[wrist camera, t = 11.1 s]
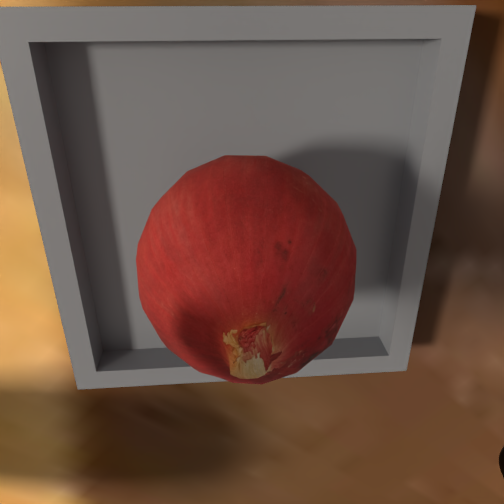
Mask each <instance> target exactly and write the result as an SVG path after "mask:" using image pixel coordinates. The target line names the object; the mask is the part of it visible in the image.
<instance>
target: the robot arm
mask: <svg viewBox="0 0 504 504" xmlns="http://www.w3.org/2000/svg"><path fill="white" fill-rule="evenodd" d="M499 466H500V469H501V472H502V475H503V477H504V447H503V448H502V450H501V452H500V455H499Z"/></svg>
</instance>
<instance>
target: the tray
mask: <svg viewBox="0 0 504 504" xmlns="http://www.w3.org/2000/svg"><path fill="white" fill-rule="evenodd" d="M475 10H476V5H434V6H128V7H0V61H1V65H2V69H3V74H4V78H5V82H6V86H7V91H8V95H9V99H10V103H11V108H12V112H13V116H14V120H15V125H16V129H17V133H18V137H19V142H20V146H21V150H22V154H23V159H24V163H25V167H26V172H27V176H28V180H29V184H30V189H31V193H32V197H33V201H34V206H35V210H36V214H37V218H38V223H39V227H40V231H41V235H42V240H43V244H44V248H45V252H46V257H47V261H48V265H49V269H50V274H51V278H52V282H53V287H54V291H55V295H56V299H57V304H58V308H59V312H60V316H61V321H62V325H63V329H64V333H65V338H66V342H67V346H68V350H69V355H70V359H71V363H72V367H73V372H74V376H75V380H76V385H77V389H96V388H113V387H130V386H148V385H165V384H183V383H200V382H218V381H227V380H224V379H221V378H218V377H215V376H211V375H208V374H204V373H201V372H199V371H197V370H195V369H194V368H192V367H191V366H190V365H189V364H187V363H186V362H185V361H183V360H182V359H181V358H179V357H178V356H177V355H176V354H174V353H173V352H172V351H170V350H169V349H168V348H167V347H166V346H165V344H164V343H163V342H162V341H161V339H160V337H159V336H158V334H157V332H156V331H155V329H154V327H153V325H152V324H151V322H150V320H149V319H148V317H147V315H146V314H145V312H144V310H143V308H142V305H141V301H140V298H139V290H138V278H137V266H136V255H137V246H138V242H139V240H140V237H141V235H142V232H143V230H144V227H145V225H146V222H147V220H148V217H149V215H150V212H151V210H152V208H153V207H154V206H155V204H156V203H157V202H158V201H159V199H160V198H161V197H162V196H163V195H164V194H165V193H166V192H167V191H168V190H169V189H170V188H171V187H172V186H173V185H174V184H175V183H176V182H177V181H178V180H179V179H180V178H181V177H182V176H183V175H184V174H185V173H186V172H187V171H189V170H191V169H193V168H196V167H198V166H200V165H203V164H205V163H207V162H210V161H212V160H215V159H217V158H219V157H222V156H224V155H251V156H268V157H270V158H273V159H275V160H277V161H280V162H282V163H285V164H287V165H290V166H292V167H295V168H297V169H299V170H302V171H303V172H305V173H306V174H308V175H309V176H310V177H311V178H312V179H313V180H314V181H315V182H316V183H317V184H318V185H319V186H320V187H321V188H322V189H323V190H325V191H326V192H327V193H328V194H329V195H330V196H331V197H332V198H333V199H334V200H335V201H336V202H337V204H338V206H339V208H340V209H341V211H342V213H343V216H344V218H345V221H346V224H347V226H348V229H349V231H350V234H351V237H352V239H353V242H354V244H355V247H356V274H355V292H354V299H353V302H352V304H351V306H350V308H349V310H348V313H347V315H346V317H345V319H344V321H343V323H342V325H341V327H340V329H339V331H338V333H337V336H336V338H335V340H334V341H333V343H332V345H331V346H329V347H328V348H327V349H326V350H324V351H323V352H322V353H321V354H319V355H318V356H317V357H315V358H314V359H313V360H312V361H310V362H309V363H308V364H307V365H306V366H304V367H303V368H302V369H301V370H300V371H298V372H297V373H295V374H292V375H289V376H286V377H283V378H288V377H305V376H323V375H340V374H357V373H375V372H392V371H406V370H407V365H408V360H409V355H410V349H411V344H412V339H413V334H414V328H415V323H416V318H417V313H418V307H419V302H420V297H421V292H422V287H423V281H424V276H425V271H426V266H427V260H428V255H429V250H430V245H431V240H432V234H433V229H434V224H435V219H436V213H437V208H438V203H439V198H440V193H441V187H442V182H443V177H444V172H445V166H446V161H447V156H448V151H449V145H450V140H451V135H452V130H453V125H454V119H455V114H456V109H457V104H458V98H459V93H460V88H461V83H462V78H463V72H464V67H465V62H466V57H467V51H468V46H469V41H470V36H471V31H472V25H473V20H474V15H475Z"/></svg>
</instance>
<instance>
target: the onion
mask: <svg viewBox="0 0 504 504" xmlns="http://www.w3.org/2000/svg"><path fill="white" fill-rule="evenodd" d="M136 266H137V278H138V290H139V298H140V301H141V305H142V308H143V310H144V312H145V314H146V315H147V317H148V319H149V320H150V322H151V324H152V325H153V327H154V329H155V331H156V332H157V334H158V336H159V337H160V339H161V341H162V342H163V343H164V344H165V346H166V347H167V348H168V349H169V350H170V351H172V352H173V353H174V354H176V355H177V356H178V357H179V358H181V359H182V360H183V361H185V362H186V363H187V364H189V365H190V366H191V367H192V368H194V369H195V370H197V371H199V372H201V373H204V374H208V375H211V376H215V377H218V378H221V379H224V380H227V381H230V382H233V383H248V384H264V383H267V382H270V381H273V380H276V379H279V378H283V377H286V376H289V375H292V374H295V373H297V372H298V371H300V370H301V369H302V368H303V367H304V366H306V365H307V364H308V363H309V362H310V361H312V360H313V359H314V358H315V357H317V356H318V355H319V354H321V353H322V352H323V351H324V350H326V349H327V348H328V347H329V346H331V345H332V343H333V341H334V340H335V338H336V336H337V333H338V331H339V329H340V327H341V325H342V323H343V321H344V319H345V317H346V315H347V313H348V310H349V308H350V306H351V304H352V302H353V299H354V292H355V274H356V247H355V244H354V242H353V239H352V237H351V234H350V231H349V229H348V226H347V224H346V221H345V218H344V216H343V213H342V211H341V209H340V208H339V206H338V204H337V202H336V201H335V200H334V199H333V198H332V197H331V196H330V195H329V194H328V193H327V192H326V191H325V190H323V189H322V188H321V187H320V186H319V185H318V184H317V183H316V182H315V181H314V180H313V179H312V178H311V177H310V176H309V175H308V174H306V173H305V172H303V171H302V170H299V169H297V168H295V167H292V166H290V165H287V164H285V163H282V162H280V161H277V160H275V159H273V158H270V157H268V156H251V155H224V156H222V157H219V158H217V159H215V160H212V161H210V162H207V163H205V164H203V165H200V166H198V167H196V168H193V169H191V170H189V171H187V172H186V173H185V174H184V175H183V176H182V177H181V178H180V179H179V180H178V181H177V182H176V183H175V184H174V185H173V186H172V187H171V188H170V189H169V190H168V191H167V192H166V193H165V194H164V195H163V196H162V197H161V198H160V199H159V201H158V202H157V203H156V204H155V206H154V207H153V208H152V210H151V212H150V215H149V217H148V220H147V222H146V225H145V227H144V230H143V232H142V235H141V237H140V240H139V242H138V246H137V255H136Z"/></svg>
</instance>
